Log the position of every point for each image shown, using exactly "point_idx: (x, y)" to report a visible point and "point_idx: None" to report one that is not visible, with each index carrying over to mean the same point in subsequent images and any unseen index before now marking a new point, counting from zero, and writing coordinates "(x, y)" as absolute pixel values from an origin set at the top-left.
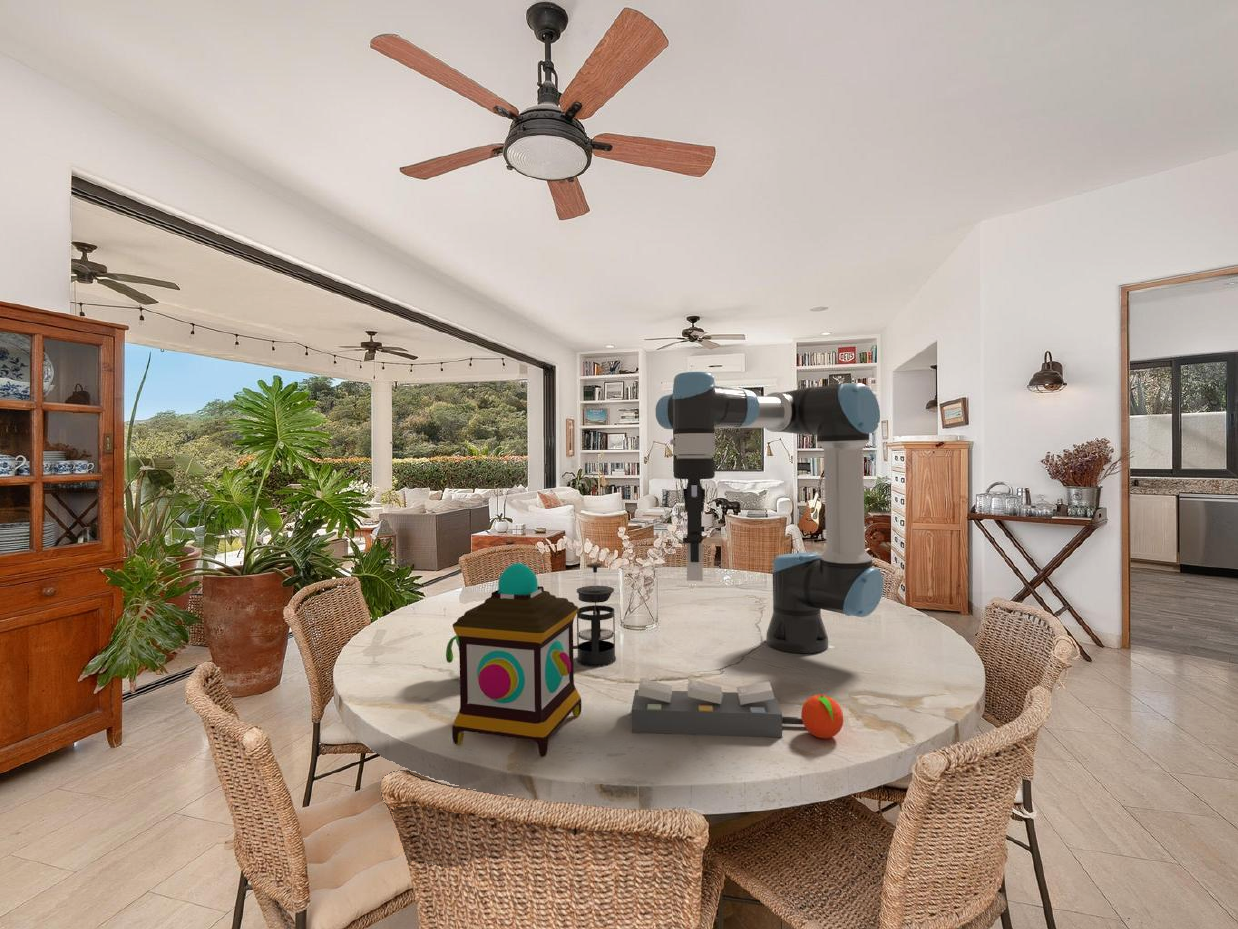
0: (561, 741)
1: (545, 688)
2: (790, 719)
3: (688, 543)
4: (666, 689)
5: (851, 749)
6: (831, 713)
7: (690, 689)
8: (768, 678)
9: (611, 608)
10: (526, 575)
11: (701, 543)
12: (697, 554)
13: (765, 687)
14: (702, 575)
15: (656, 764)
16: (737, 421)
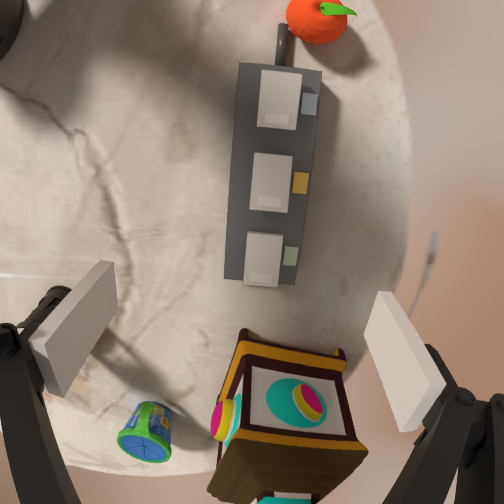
0: (307, 338)
1: (323, 393)
2: (285, 53)
3: (417, 424)
4: (268, 244)
5: (347, 6)
6: (354, 12)
7: (287, 210)
8: (102, 60)
9: (16, 328)
10: None
11: (443, 386)
12: (441, 367)
13: (285, 82)
14: (396, 301)
15: (371, 245)
16: None
